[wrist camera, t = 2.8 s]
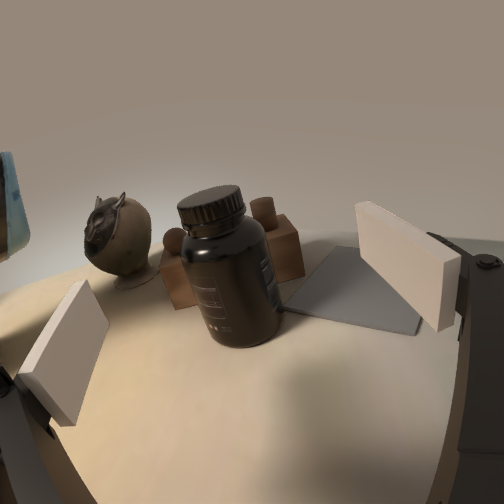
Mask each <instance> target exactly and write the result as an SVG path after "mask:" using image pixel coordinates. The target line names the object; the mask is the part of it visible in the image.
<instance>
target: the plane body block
mask: <svg viewBox="0 0 504 504" xmlns="http://www.w3.org/2000/svg"><path fill="white" fill-rule="evenodd" d="M250 207H251V211H252V215H253V218H254V219H256V220H257V221H258V222H259V223H260V224H261V225H262V226H263V228H264V231H265V234H266V237H267V242H268V246H269V250H270V254H271V258H272V262H273V266H274V270H275V274H276V279H277V283H280V282H284V281H287V280H291V279H294V278H298V277H301V276H305V270H304V264H303V259H302V253H301V247H300V242H299V236H298V231H297V230H296V229H295V228H294V226H293V225H292V224H291V222H290V221H289V220H288V219H287V217H286V216H285V215H284V214H281V215H277V216H276V211H275V207H274V202H273V198H272V197H262V198H258V199H255V200H253V201H251V202H250ZM186 234H187V233H186V231H184V230H183V229H181V228H172V229H170V230H168V231H167V232H166V233H165V235H164V238H163V245H164V251H163V255H162V258H161V262H160V266H159V271H160V273H161V276H162V278H163V281H164V283H165V286H166V288H167V291H168V293H169V296H170V298H171V301H172V303H173V306H174V308H175V310H177V309H181V308H185V307H189V306H193V305H197V304H198V303H197V301H196V298H195V296H194V293H193V291H192V288H191V285H190V283H189V280H188V278H187V275H186V272H185V270H184V267H183V264H182V262H181V258H180V255H179V249H180V244H181V242H182V240H183V238H184V237H185V235H186Z"/></svg>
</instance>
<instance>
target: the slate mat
mask: <svg viewBox="0 0 504 504" xmlns="http://www.w3.org/2000/svg"><path fill="white" fill-rule="evenodd" d="M283 309H284V310H287V311H292V312H296V313H301V314H305V315H310V316H315V317H319V318H324V319H329V320H333V321H338V322H343V323H348V324H353V325H358V326H363V327H368V328H373V329H379V330H384V331H389V332H395V333H400V334H406V335H411V336H415V334H416V331H417V328H418V325H419V322H420V319H421V316H420V314H419V313H418V312H417V311H416V310H415V309H414V308H413V307H412V306H411V305H410V304H409V303H408V302H407V301H406V300H405V299H404V298H403V297H402V296H401V295H400V294H399V293H398V292H397V291H396V290H395V289H394V288H393V287H392V286H391V285H390V284H389V283H388V282H387V281H386V280H385V279H384V278H383V277H381V276H380V275H379V274H378V273H377V272H376V271H375V270H374V269H373V268H372V267H371V266H370V265H369V264H368V263H367V262H366V261H365V260H364V259H363V258H362V257H361V255H360V248H352V247H341V246H336V247H335V248H334V249H333V251H332V252H331V253H330V254H329V255H328V256H327V257H326V259H325V260H324V261H323V262H322V263H321V264H320V265H319V267H318V268H317V269H316V270H315V271H314V272H313V273H312V275H311V276H310V277H309V278H308V279H307V280H306V281H305V282H304V283H303V285H302V286H301V287H300V288H299V289H298V290H297V291H296V292H295V293H294V295H293V296H292V297H291V298H290V299H289V300H288V301H287V302H286V303H285V304H284V306H283Z"/></svg>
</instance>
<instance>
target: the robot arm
mask: <svg viewBox="0 0 504 504" xmlns="http://www.w3.org/2000/svg"><path fill="white" fill-rule="evenodd" d="M355 208H356V217H357V225H358V235H359V245H360V255H361V257H362V258H363V259H364V260H365V261H366V262H367V263H368V264H369V265H370V266H371V267H372V268H373V269H374V270H375V271H376V272H377V273H378V274H379V275H380V276H381V277H383V278H384V279H385V280H386V281H387V282H388V283H389V284H390V285H391V286H392V287H393V288H394V289H395V290H396V291H397V292H398V293H399V294H400V295H401V296H402V297H403V298H404V299H405V300H406V301H407V302H408V303H409V304H410V305H411V306H412V307H413V308H414V309H415V310H416V311H417V312H418V313H419V314H420V316H421V317H422V318H423V319H424V320H425V321H426V322H427V323H428V324H429V325H430V326H431V327H432V328H433V329H434V330H435V331H436V332H437V333H438V332H440V331H442V330H444V329H446V328H448V327H450V326H452V325H453V324H454V317H455V311H457V312H458V313H459V314H460V315H461V316H462V320H461V325H460V331H459V336H458V341H459V353H458V363H457V371H456V379H455V386H454V393H453V399H452V405H451V411H450V416H449V422H448V426H447V431H446V436H445V440H444V444H443V449H442V453H441V457H440V460H439V464H438V468H437V471H436V475H435V478H434V481H433V485H432V488H431V491H430V494H429V497H428V499H427V501H426V504H504V264H503V262H502V260H500V259H499V258H498V257H495V256H493V255H488V254H479V255H476V256H472V255H471V254H469V253H467V252H466V251H464V250H463V249H461V248H459V247H458V246H456V245H454V244H453V243H451V242H450V241H447V240H446V239H445V238H443V237H441V236H440V235H436V234H433V233H430V232H427V233H425V232H423V231H421V230H419V229H418V228H416V227H415V226H413V225H411V224H410V223H408V222H406V221H404V220H403V219H401V218H399V217H398V216H396V215H394V214H392V213H391V212H389V211H387V210H385V209H383V208H382V207H380V206H378V205H376V204H374V203H373V202H371V201H365V202H361V203H358V204H355ZM29 239H30V230H29V225H28V222H27V217H26V214H25V210H24V206H23V202H22V198H21V195H20V190H19V186H18V180H17V176H16V171H15V166H14V161H13V157H12V154H11V152H1V153H0V263H1V262H3V261H5V260H8V259H9V258H10V256H12V255H13V254H15V253H16V252H18V251H19V250H21V249H22V248H24V247H25V246H26V245H27V243H28V242H29ZM108 328H109V323H108V321H107V319H106V317H105V315H104V313H103V311H102V309H101V307H100V305H99V303H98V301H97V299H96V297H95V295H94V293H93V291H92V289H91V287H90V285H89V283H88V281H87V279H84V280H81V281H78V282H74V283H73V285H72V286H71V288H70V289H69V291H68V292H67V294H66V295H65V297H64V298H63V300H62V301H61V303H60V304H59V306H58V307H57V309H56V310H55V312H54V313H53V315H52V316H51V318H50V320H49V321H48V323H47V324H46V326H45V327H44V329H43V331H42V332H41V334H40V336H39V337H38V339H37V341H36V342H35V344H34V345H33V346H32V348H31V350H30V351H29V353H28V356H26V358H25V360H24V363H22V365H21V367H20V369H19V371H18V372H17V374H16V376H15V378H14V380H12V378H11V377H10V376H9V374H8V373H7V372H6V370H5V369H4V367H3V366H2V365H1V363H0V504H97V502H96V501H95V499H94V498H93V496H92V495H91V493H90V492H89V490H88V488H87V487H86V485H85V484H84V482H83V481H82V479H81V477H80V476H79V474H78V472H77V471H76V469H75V467H74V466H73V464H72V462H71V460H70V459H69V457H68V455H67V453H66V451H65V449H64V448H63V446H62V444H61V442H60V440H59V438H58V436H57V434H56V432H55V430H54V429H53V428H52V427H51V426H50V425H49V422H50V419H51V417H52V418H53V419H54V420H55V421H56V422H57V423H58V424H59V426H60V427H63V426H76V422H77V419H78V416H79V412H80V409H81V406H82V403H83V399H84V396H85V393H86V390H87V387H88V384H89V381H90V378H91V375H92V372H93V369H94V366H95V363H96V361H97V358H98V355H99V352H100V349H101V347H102V344H103V341H104V339H105V336H106V333H107V331H108Z"/></svg>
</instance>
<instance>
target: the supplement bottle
mask: <svg viewBox="0 0 504 504" xmlns="http://www.w3.org/2000/svg"><path fill="white" fill-rule="evenodd" d="M177 209H178V212H179V215H180V218H181V224H182V227H183V229H184V230H186V231H188V233H187V234H186V235H185V237H184V238H183V240H182V242H181V244H180V249H179V255H180V258H181V262H182V264H183V267H184V270H185V272H186V275H187V278H188V280H189V283H190V285H191V288H192V291H193V293H194V296H195V298H196V301H197V303H198V306H199V308H200V311H201V313H202V316H203V318H204V321H205V323H206V326H207V328H208V330H209V332H210V334H211V336H212V338H213V339H214V340H215V341H216V342H218V343H220V344H221V345H224V346H227V347H232V348H245V347H250V346H254V345H257V344H259V343H262V342H264V341H265V340H267V339H269V338H270V337H271V336H273V335H274V334H275V333H276V332H277V331H278V329H279V328H280V326H281V325H282V322H283V319H284V309H283V304H282V300H281V295H280V291H279V287H278V283H277V279H276V274H275V270H274V266H273V262H272V258H271V254H270V250H269V246H268V242H267V237H266V234H265V231H264V228H263V226H262V225H261V224H260V223H259V222H258V221H257V220H256V219H254V218H252V217H249V216H245V215H244V213H245V212H246V206H245V203H244V202H243V198H242V195H241V191H240V188H239V186H237V185H223V186H217V187H213V188H209V189H206V190H203V191H199V192H197V193H194V194H192V195H190V196H188V197H186V198H184V199H183V200H181V201H180V202H179V203H178V205H177Z"/></svg>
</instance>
